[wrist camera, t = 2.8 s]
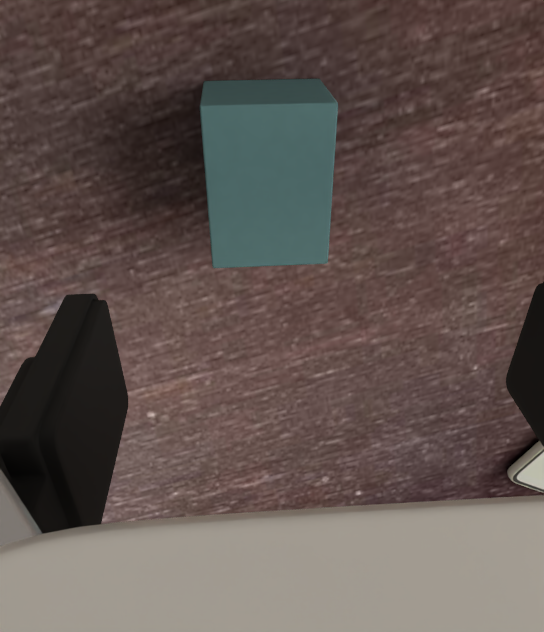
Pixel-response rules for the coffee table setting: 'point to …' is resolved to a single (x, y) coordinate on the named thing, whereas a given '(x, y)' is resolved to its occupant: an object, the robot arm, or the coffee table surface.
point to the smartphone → (529, 469)
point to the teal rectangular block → (268, 170)
